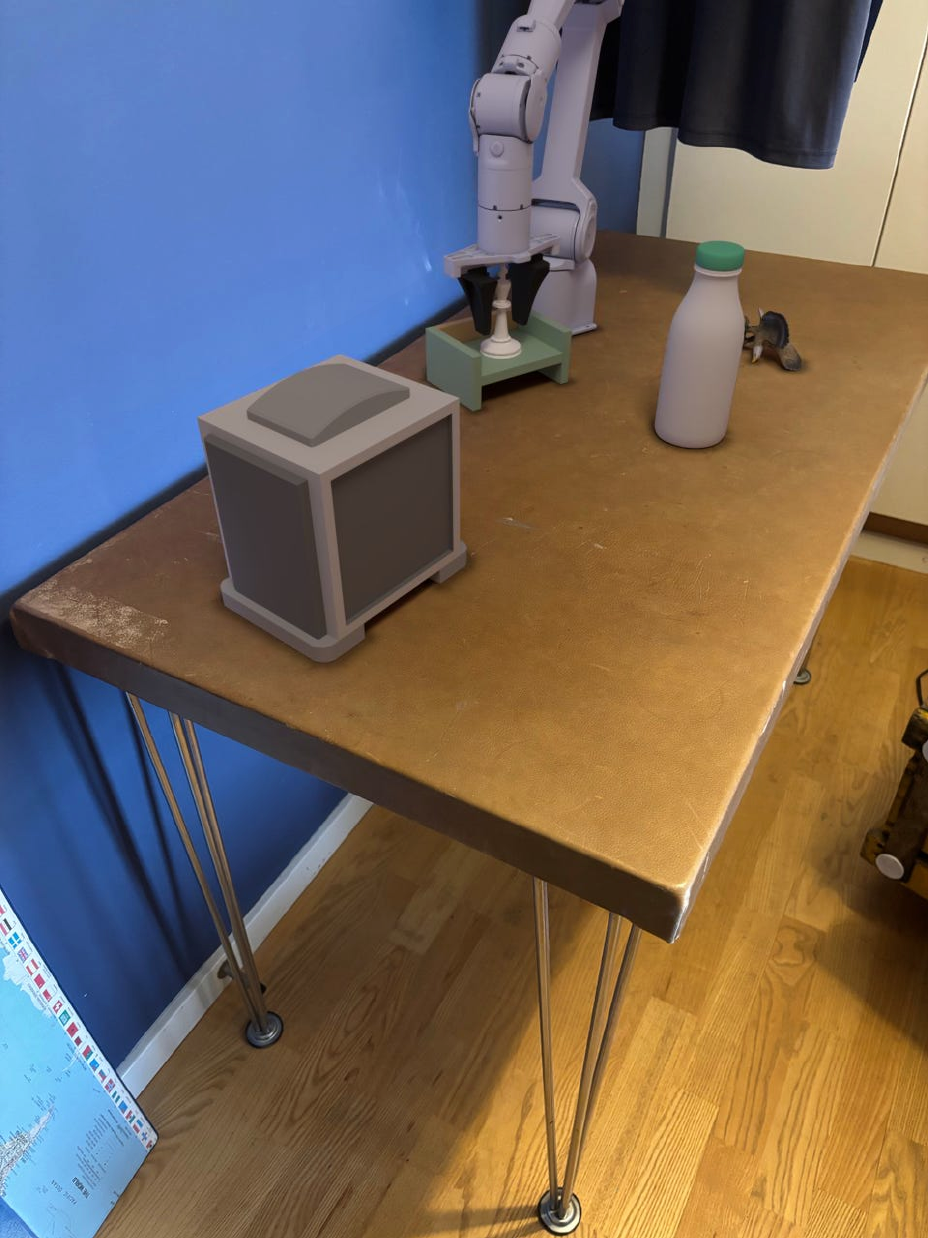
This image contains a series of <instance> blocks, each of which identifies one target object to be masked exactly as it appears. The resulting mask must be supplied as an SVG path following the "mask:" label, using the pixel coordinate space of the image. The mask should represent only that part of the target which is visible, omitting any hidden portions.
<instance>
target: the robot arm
mask: <svg viewBox="0 0 928 1238" xmlns="http://www.w3.org/2000/svg"><path fill="white" fill-rule="evenodd" d="M624 3H625V0H530V3H529V6H528V10H527V13H526V14H524V15H521V16H519V17H517V18H516V19H514V21H513V22H512V24H511V26H510V28H509V29H508V32H507V34H506V36H505V39H504V41H503V43H502V46H501V48H500V51H499V53H498V55H497V58H496V60H495V62H494V64H493V66H492V69H491V71H490V72H486V73H485V74H483V76H482V77H480V78H478V79H476V80H475V82H474V84H473V86H472V89H471V93H470V98H469V108H468V121H469V128H470V132H471V134H472V145H473V147H472V148H473V149H472V150H473V154H474V157H476V158H477V168H478V169H477V242H476V243H474V244H471V245H469V246H466V247H464V248H462V249H459V250H457V251H455V252H453V253H449V254H445V255H443V257H442V259H443V260H442V261H443V263H442V264H443V266H442V267H443V274H444V275H445V276H447V277H449V278H451V279H453V280H455V279H457V281H458V283H459V284H460V286H461V288H462V290H463V293H464V295H465V298H466V300H467V302H468V306H469V309H470V313H471V317H473V321H474V326H475V331H477V332H479V333H480V334H482V335H484V336H487V335H490V331H491V322H492V311H493V302H494V298H495V295H496V291H495V290H496V287H497V284H498V280H499V279H497V278H495V277H493V276H491V273H490V271H488V269H491V268H494V267H495V268H496V267H500V265H507V267H508V272H509V275H510V276H509V277H510V282H511V287H510V289H511V300H510V302H511V306H510V307H511V312H512V320H513V321H514V322H516V323H518V324H520V325H522V326H524V325H527V322H528V319H529V315H530V312H531V309H532V310H534V311H536V312H538V313H540V314H542V315H544V316H546V317H548V318H550V319H551V320H553V321H555V322H557V323H559V324H561V325H563V326H565V327H567V328H569V329H571V330H572V336H575V335H579V334H583V333H586V332H589V331H592V330H596V329H597V328H598V326H597V325H598V324H597V323H594V317H595V316H594V315H595V307H596V297H597V296H596V294H597V282H598V280H597V272H596V269H595V266H594V263H593V261H592V260H591V259H590V258H591V257H590V256H591V254H592V252H593V249H594V245H595V241H596V234H597V214H598V213H597V212H598V204H597V200H596V197H595V195H594V194H593V193H592V192H591V191H590V190H589V189H588V188H587V186H586V185H585V184H584V183H583V182H582V181H581V179H580V178H581V172H582V165H583V159H584V154H585V147H586V141H587V135H588V128H589V122H590V115H591V110H592V103H593V98H594V91H595V85H596V79H597V73H598V72H597V71H598V67H599V61H600V53H601V49H602V48H601V47H602V44H603V39H604V36H605V32H606V28H607V25H608V24H609V23H611V22H612V21H614V20H616V19H617V18H619V17H621V13H622V9H623V6H624ZM561 29H562V31H561V34H560V30H561ZM555 68H556V72H555V78H554V85H553V92H552V99H551V105H550V113H549V119H548V125H547V134H546V141H545V146H544V152H543V153H544V154H543V159H542V167H541V174H540V175H539V176H538V177H536V179H534V180H533V171H534V153H535V152H534V151H535V150H534V148H535V140H537V139H538V136H539V134H540V132H541V130H542V126H543V121H544V116H545V109H546V104H547V102H548V100H547V99H548V89H547V88H548V84H549V83H550V79H551V78H552V74H553V72H554V70H555ZM544 203H547V204H555V205H566V206H574V207H577V208H569V207H561V206H553V205H552V206H551V205H545V204H544Z"/></svg>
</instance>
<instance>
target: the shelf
mask: <svg viewBox="0 0 928 1238" xmlns="http://www.w3.org/2000/svg"><path fill="white" fill-rule="evenodd" d="M497 310H498V309H495V310H492V322H491V331H490V335H487V336H484V335H482V334H480V333H479V332H477V331H475V326H474V321H473V317H472V316H469V317H464V318H461V319H457V320H452V321H448V322H445V323H441V324H437V325H433V326H429V327H426V328H425V352H426V353H425V357H426V381H427V382H429V383H431V385H434V386H435V387H436V388H437V389H438V390H440V391H442V392H444V393H447V394H450V395H453V396H455V397H458V398H460V405H463V406H464V407H466V408H467V409H468V410H470V411H471V412H475V411H479V410H482V387H483V386H487V385H490V384H494V383H498V382H500V381H504V380H507V379H511V378H514V377H518V376H521V375H524V374H527V373H532V372H535V371H537V372H539V373H540V374H542V375H544V376H546V377H547V378H549V379H551V380H553V381H554V382H555V383H558V384H559V385H563V384H566V383H569V376H570V363H571V348H572V336H573V335H572V330H571V329H569V328H567V327H565V326H563V325H561V324H559V323H557V322H555V321H553V320H551V319H550V318H548V317H546V316H544V315H542V314H540V313H538V312H536V311H534V310H532V309H531V312H530V315H529V319H528V322H527V325H524V326H522V325H520V324H518V323H516V322H514V321H513V320H512V312H511V306H510V307H508V308H506V318H507V329H508V335H509V336H510V337H511V338H512V339H515V340H517V341H518V342H519V343H520V344H521V350H522V351H521V354H520V355H518V356H517V357H514V358H510V359H492V358H488V357H486V356H484V355H482V354H481V352H480V348H481V343H482V342H483V341H484V340H486V339H488V338H491V336H492V335H494V332H495V325H496V318H497Z"/></svg>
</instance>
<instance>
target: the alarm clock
mask: <svg viewBox="0 0 928 1238" xmlns="http://www.w3.org/2000/svg"><path fill="white" fill-rule="evenodd" d="M460 405H461V403H460V398H458V397H455V396H453V395H450V394H447V393H445V392H444V391H442V390H440V389H436V388H433V387H431V386H428V385H425V384H422V383H420V382H417V381H415V380H412V379H409V378H406V377H404V376H401V375H398V374H396V373H393V372H390V371H387V370H384V369H383V368H379V367H376V366H374V365H371V364H368V363H365V362H364V361H360V360H357V359H355V358H352V357H350V356H348V355H347V356H346V355H344V354H341V353H338V354H336V355H334V356H331V357H329V358H327V359H325V360H322V361H320V362H318V363H316V364H313V365H311V366H309V367H307V368H304V369H302V370H300V371H298V372H296V373H293V374H291V375H288V376H286V377H284V378H282V379H280V380H277V381H275V382H273V383H270V384H269V385H266V386H264V387H262V388H260V389H257V390H255V391H252V392H251V393H248V394H246V395H244V396H241V397H239V398H237V399H235V400H233V401H230V402H228V403H226V404H224V405H221V406H219V407H217V408H214V409H213V410H210V411H207V412H206V413H204V414H202V415H199V416H197V417H196V420H197V423H198V430H199V434H200V439H201V443H202V449H203V454H204V458H205V464H206V468H207V472H208V473H207V474H208V477H209V482H210V488H211V493H212V498H213V502H214V507H215V511H216V515H217V522H218V527H219V531H220V535H221V541H222V546H223V550H224V555H225V561H226V565H227V569H228V575H229V576H228V577H226V578H225V579H224V580H222V582H221V583H220V585H219V586H220V591H221V595H222V600H223V605H224V607H226V608H227V609H228V610H230V611H232V612H233V613H235V614H237V615H238V616H241V618H243V619H245V620H247V621H248V622H249V623H251V624H253V625H254V626H257V627H258V628H260V629H261V630H263V631H264V632H265V633H268V634H269V635H271V636H272V637H274V638H276V639H278V640H279V641H281V642H282V643H284V644H286V645H287V646H289V647H290V648H292V649H294V650H295V651H296V652H298V653H300V654H302V655H303V656H305V657H306V658H309V659H310V660H311V661H313V662H315V663H322V664H324V663H330V662H334V661H336V660H338V659H339V658H340V657H341V656H343V655H344V654H346V653H348V651H350V650H351V649H353V648H354V647H355V646H357V645H359V644H360V643H361V642H363V640H365V639H366V632H365V623H367V622H368V621H370V620H371V619H372V618H373V617H375V616H376V615H378V614H379V613H381V612H382V611H384V610H385V609H387V608H388V607H389V606H390V605H392V604H393V603H395V602H396V601H398V600H399V599H400V598H402V597H403V596H405V595H406V594H407V593H409V592H410V591H412V590H413V589H414V588H416V587H417V586H419V585H420V584H421V583H423V582H424V581H426V580H427V579H429V580H432V581H433V582H435V583H437V584H439V585H442V584H443V583H444V582H446V581H447V580H448V579H450V578H451V577H452V576H454V575H456V573H459V571H460V570H462V569H463V568H465V567H466V566H467V562H468V556H467V554H468V552H467V551H468V549H467V548H468V547H467V545H466V543H465V541H463V540H462V539H461V417H460V416H461V409H460V407H461V406H460Z"/></svg>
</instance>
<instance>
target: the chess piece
mask: <svg viewBox="0 0 928 1238" xmlns="http://www.w3.org/2000/svg"><path fill="white" fill-rule="evenodd" d="M506 266H507V264H504V265H500V266H499V271H498V272H497V277H498V278H499V279H497V280H498V284H497V287H496V290H495V296H496V298H497V299H495V300H493V305H492V307H494V308H497V309H496V310H497V318H496V325H495V332H494V335H492V336H491V338H488V339H486V340H484V341H483V342H482V343H481V348H480V352H481V354H482V355H484V356H486V357H488V358H492V359H510V358H514V357H517V356H518V355H520V354H521V351H522V350H521V344H520V343H519V342H518V341H517V340H515V339H512V338H511V337H510V336H509V335H508V329H507V318H506V308H508V307H511V300H509V299H507V298H508V296H509V293H510V290H511V280H509V279H507V278H506V275H507V274H508V272H509V268H507V267H506Z"/></svg>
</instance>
